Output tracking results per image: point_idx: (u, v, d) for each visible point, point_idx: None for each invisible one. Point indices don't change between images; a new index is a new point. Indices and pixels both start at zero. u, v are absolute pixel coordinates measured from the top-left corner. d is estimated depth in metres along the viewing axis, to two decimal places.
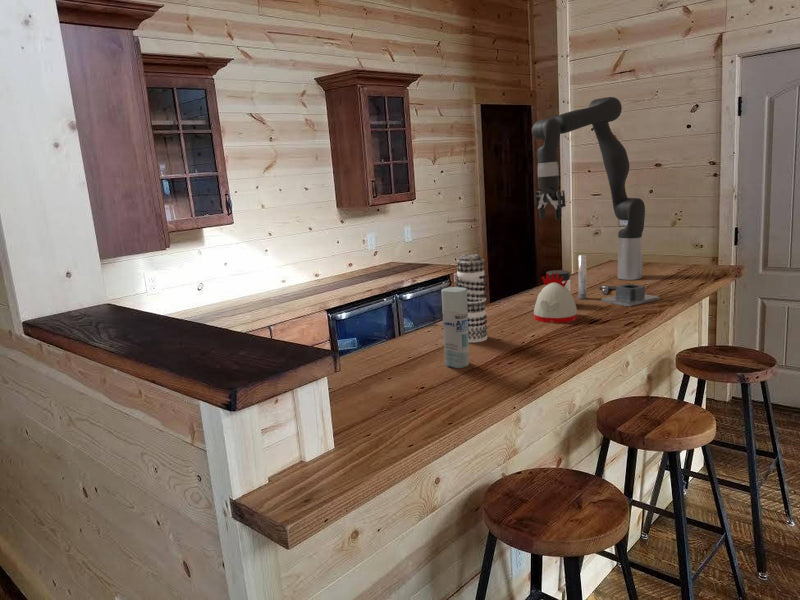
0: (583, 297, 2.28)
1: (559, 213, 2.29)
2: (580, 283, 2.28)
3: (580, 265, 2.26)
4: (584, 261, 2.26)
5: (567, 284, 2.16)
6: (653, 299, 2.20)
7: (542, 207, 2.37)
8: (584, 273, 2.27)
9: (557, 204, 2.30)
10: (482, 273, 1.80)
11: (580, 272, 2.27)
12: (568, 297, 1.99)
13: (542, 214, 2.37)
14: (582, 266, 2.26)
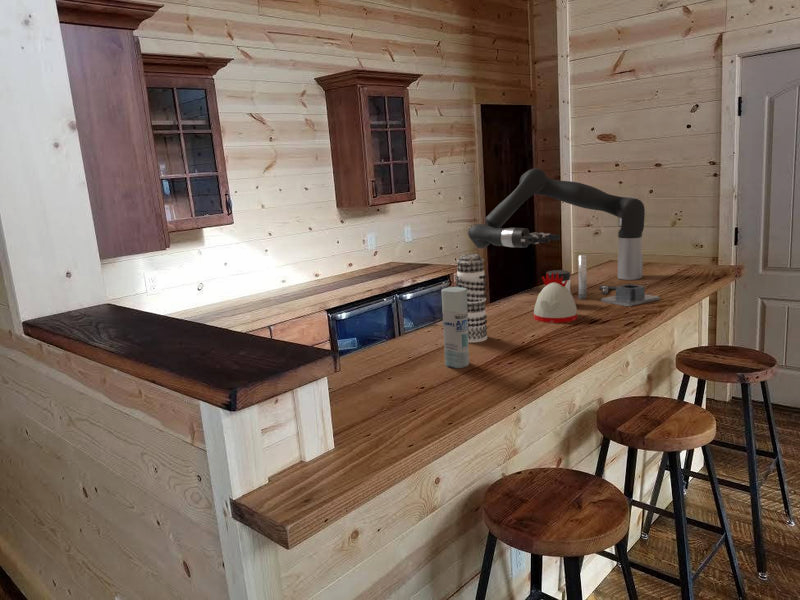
0: (583, 297, 2.28)
1: (542, 241, 2.30)
2: (580, 283, 2.28)
3: (580, 265, 2.26)
4: (584, 261, 2.26)
5: (567, 284, 2.16)
6: (653, 299, 2.20)
7: (548, 237, 2.38)
8: (584, 273, 2.27)
9: None
10: (482, 273, 1.80)
11: (580, 272, 2.27)
12: (568, 297, 1.99)
13: (554, 238, 2.36)
14: (582, 266, 2.26)
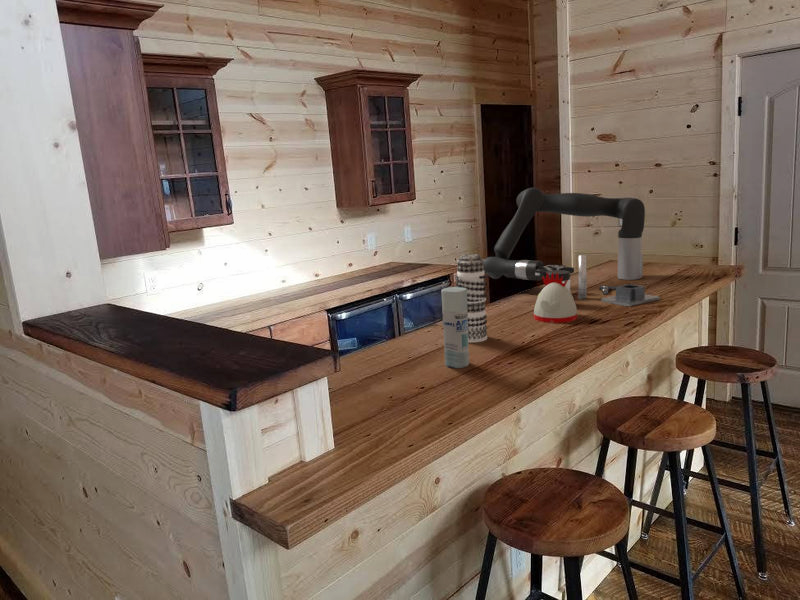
0: (583, 297, 2.28)
1: None
2: (580, 283, 2.28)
3: (580, 265, 2.26)
4: (584, 261, 2.26)
5: (567, 284, 2.16)
6: (653, 299, 2.20)
7: (562, 269, 2.37)
8: (584, 273, 2.27)
9: None
10: (482, 273, 1.80)
11: (580, 272, 2.27)
12: (568, 297, 1.99)
13: (569, 271, 2.36)
14: (582, 266, 2.26)
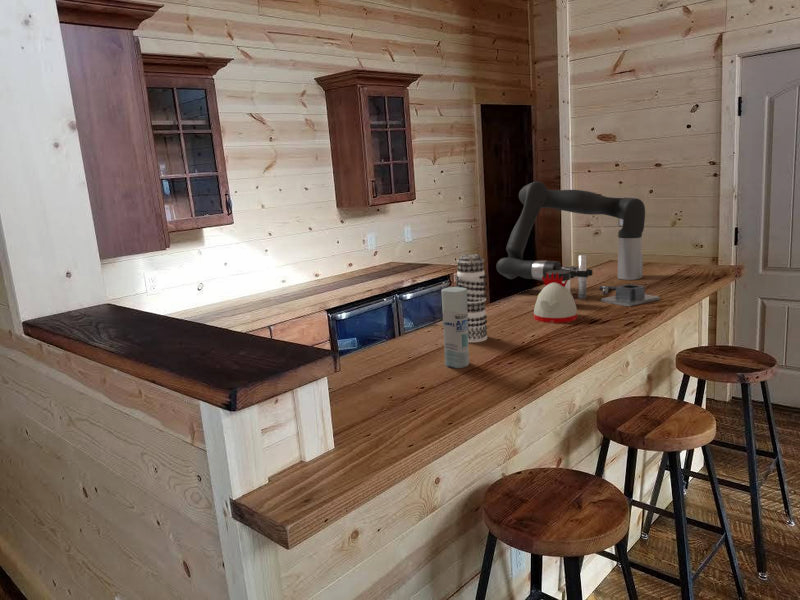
0: (583, 297, 2.28)
1: (581, 275, 2.25)
2: (580, 283, 2.28)
3: (580, 265, 2.26)
4: (584, 261, 2.26)
5: (567, 284, 2.16)
6: (653, 299, 2.20)
7: None
8: None
9: None
10: (482, 273, 1.80)
11: None
12: (568, 297, 1.99)
13: None
14: (582, 266, 2.26)
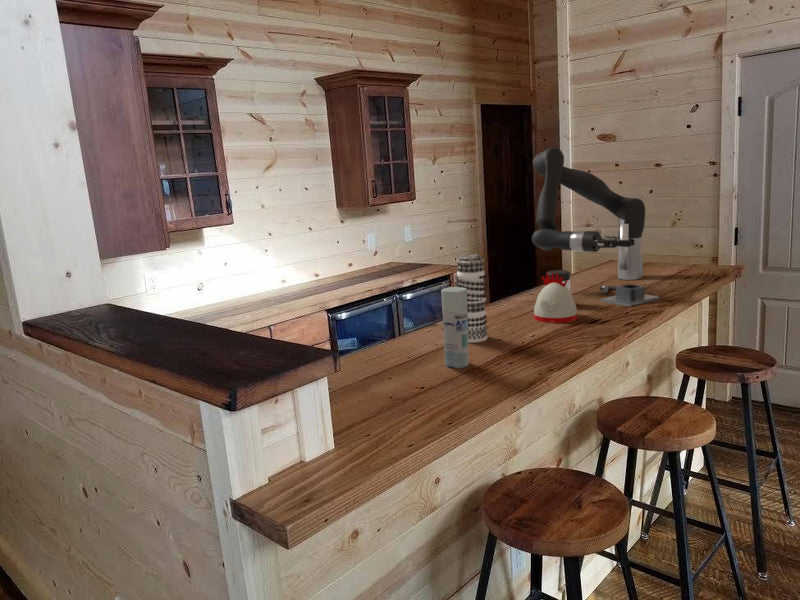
0: (624, 268, 2.20)
1: (623, 244, 2.17)
2: (621, 253, 2.19)
3: (622, 234, 2.18)
4: (626, 230, 2.17)
5: (567, 284, 2.16)
6: (653, 299, 2.20)
7: None
8: None
9: None
10: (482, 273, 1.80)
11: None
12: (568, 297, 1.99)
13: None
14: (624, 235, 2.17)
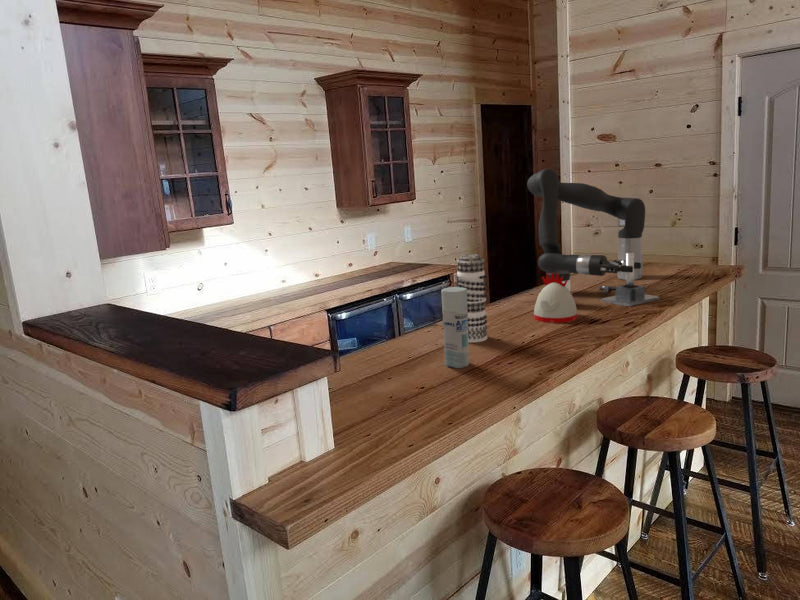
0: None
1: (625, 270, 2.16)
2: (628, 281, 2.20)
3: (628, 263, 2.19)
4: (632, 259, 2.18)
5: (567, 284, 2.16)
6: (653, 299, 2.20)
7: None
8: None
9: None
10: (482, 273, 1.80)
11: None
12: (568, 297, 1.99)
13: (635, 266, 2.22)
14: (630, 264, 2.19)
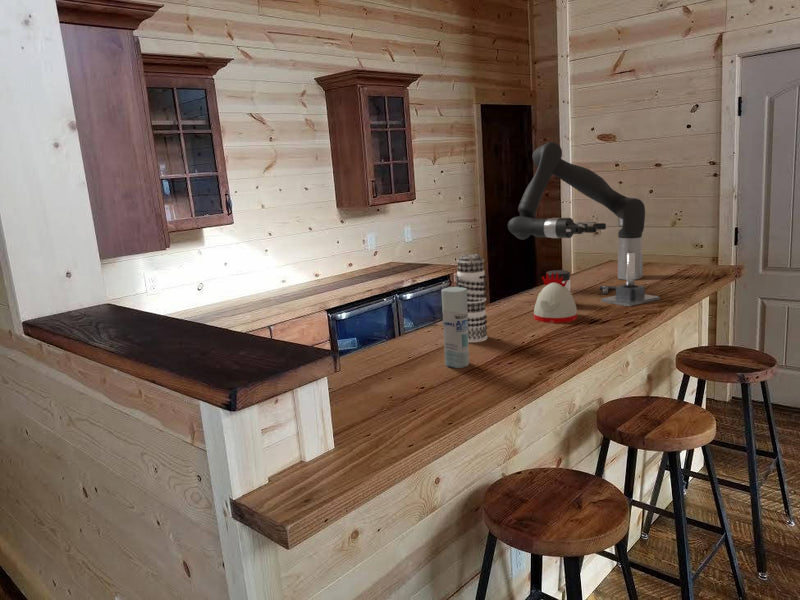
0: None
1: (589, 230, 2.22)
2: (628, 282, 2.20)
3: (628, 263, 2.19)
4: (633, 259, 2.18)
5: (567, 284, 2.16)
6: (653, 299, 2.20)
7: (593, 226, 2.30)
8: (632, 271, 2.19)
9: None
10: (482, 273, 1.80)
11: (628, 270, 2.19)
12: (568, 297, 1.99)
13: (600, 227, 2.28)
14: (631, 264, 2.18)
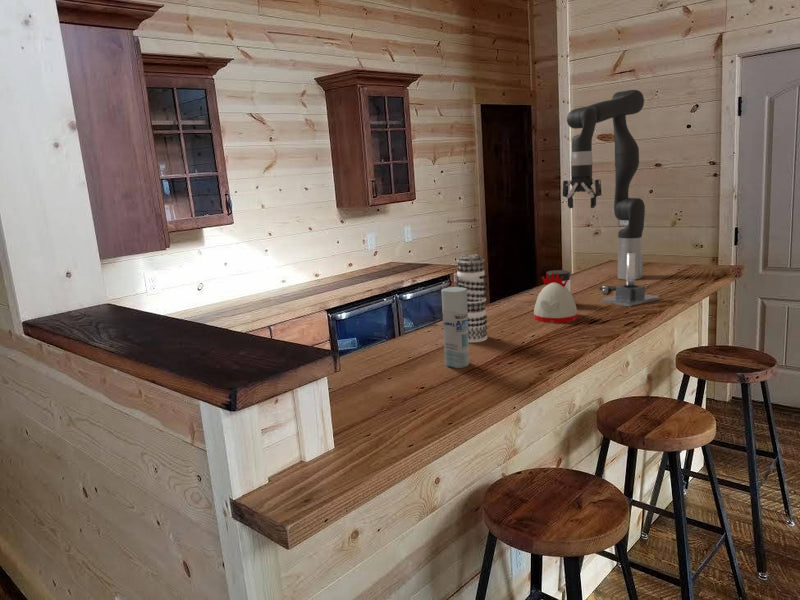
0: None
1: (595, 202, 2.31)
2: (628, 282, 2.20)
3: (628, 263, 2.19)
4: (633, 259, 2.18)
5: (567, 284, 2.16)
6: (653, 299, 2.20)
7: (571, 196, 2.37)
8: (632, 271, 2.19)
9: None
10: (482, 273, 1.80)
11: (628, 270, 2.19)
12: (568, 297, 1.99)
13: (571, 203, 2.37)
14: (631, 264, 2.18)
